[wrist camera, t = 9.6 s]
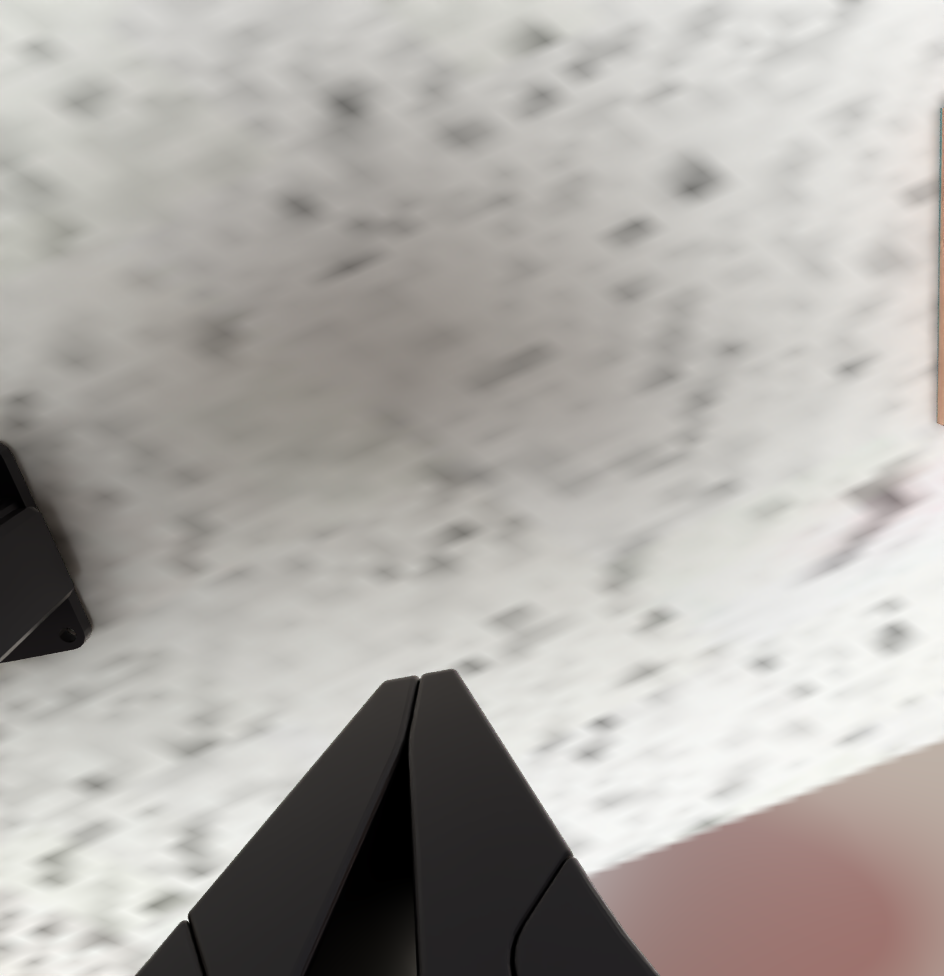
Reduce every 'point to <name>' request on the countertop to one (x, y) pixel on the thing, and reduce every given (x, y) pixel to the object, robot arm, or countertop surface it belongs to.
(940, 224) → the tile
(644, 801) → the countertop surface
